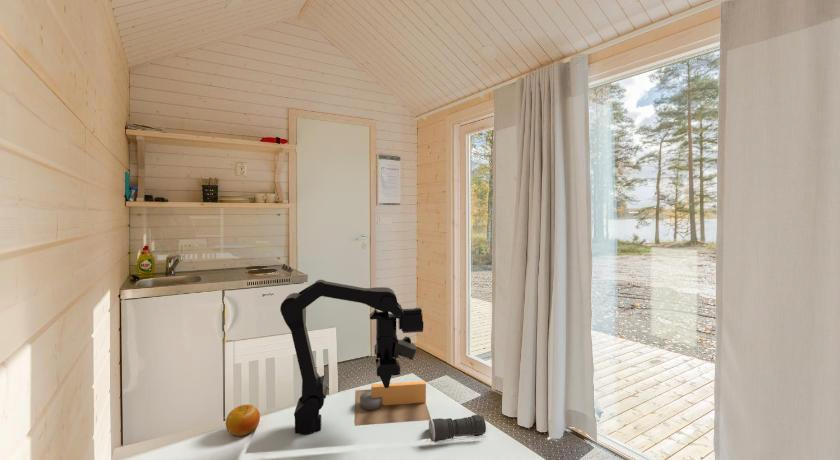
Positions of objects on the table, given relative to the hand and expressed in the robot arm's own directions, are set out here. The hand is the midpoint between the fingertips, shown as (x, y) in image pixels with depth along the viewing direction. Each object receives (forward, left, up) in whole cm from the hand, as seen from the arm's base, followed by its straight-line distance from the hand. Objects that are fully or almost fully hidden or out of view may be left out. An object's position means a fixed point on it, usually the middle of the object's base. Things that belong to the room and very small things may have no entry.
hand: (386, 387), depth 115 cm
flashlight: (+19, -7, -12) cm, 24 cm away
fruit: (-40, +4, -12) cm, 42 cm away
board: (+2, +11, -12) cm, 16 cm away
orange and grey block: (+3, +11, -10) cm, 15 cm away
